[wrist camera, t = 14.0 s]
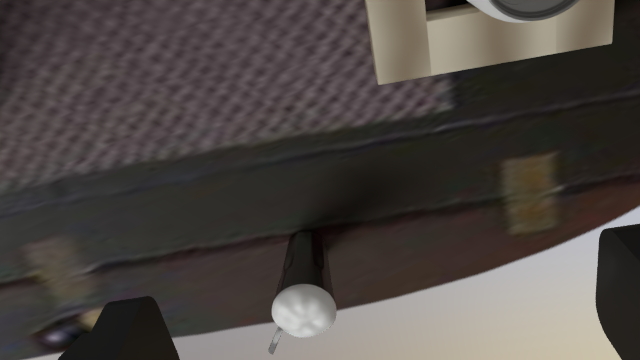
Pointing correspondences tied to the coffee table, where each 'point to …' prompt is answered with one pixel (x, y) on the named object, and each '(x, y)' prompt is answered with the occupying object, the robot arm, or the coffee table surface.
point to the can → (523, 9)
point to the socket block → (473, 36)
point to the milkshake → (304, 289)
